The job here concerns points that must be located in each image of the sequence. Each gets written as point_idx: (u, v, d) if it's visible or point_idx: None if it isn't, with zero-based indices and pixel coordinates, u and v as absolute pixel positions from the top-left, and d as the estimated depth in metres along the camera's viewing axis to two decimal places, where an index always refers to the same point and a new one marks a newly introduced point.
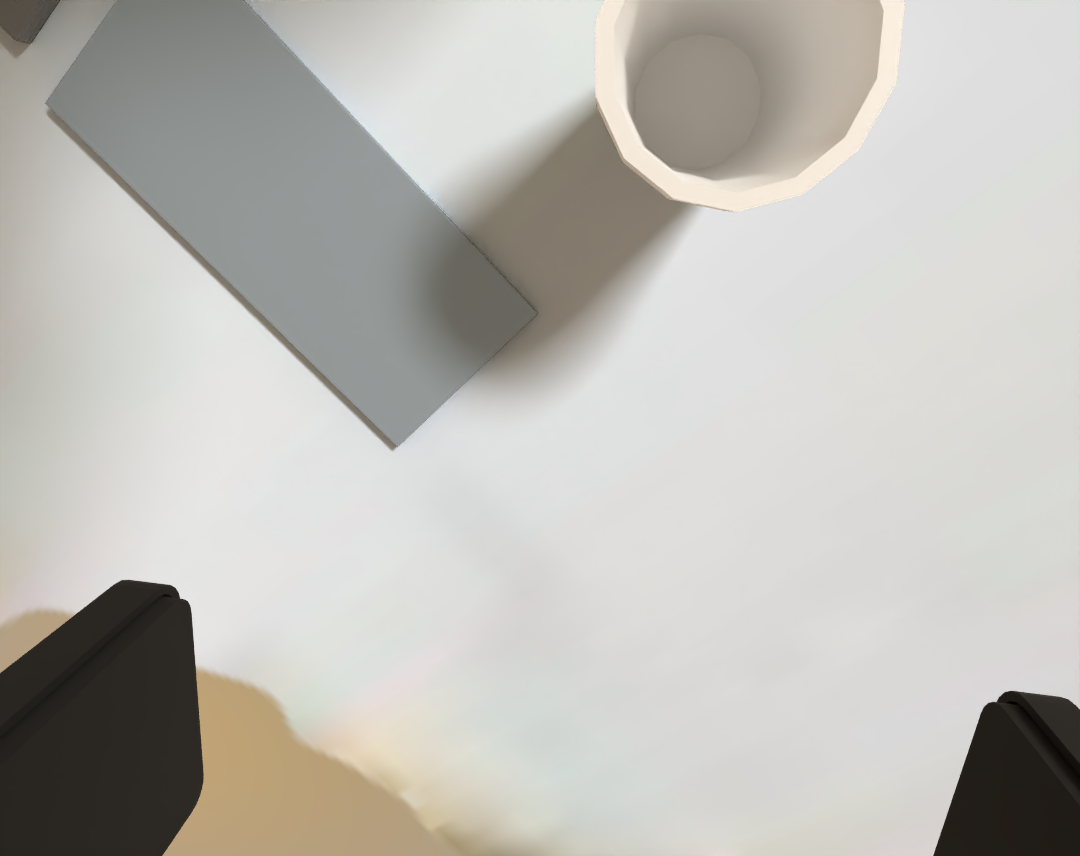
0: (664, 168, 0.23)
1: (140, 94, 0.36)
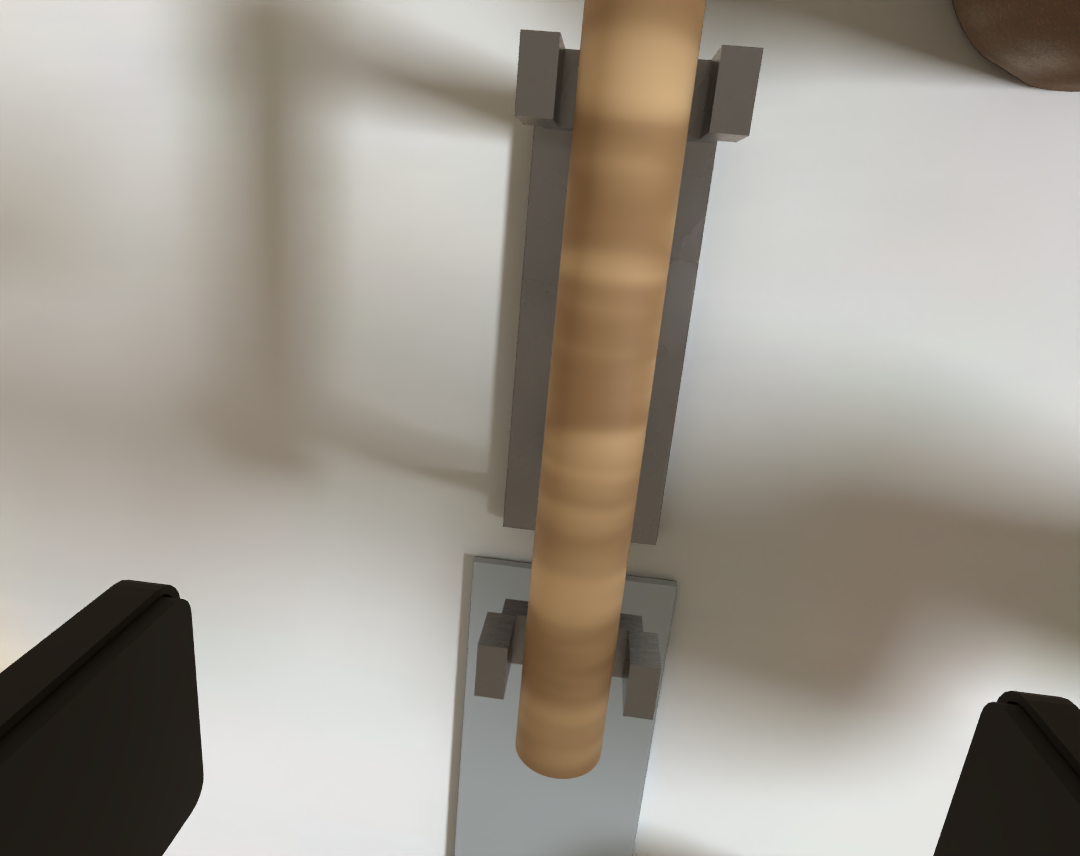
0: None
1: None
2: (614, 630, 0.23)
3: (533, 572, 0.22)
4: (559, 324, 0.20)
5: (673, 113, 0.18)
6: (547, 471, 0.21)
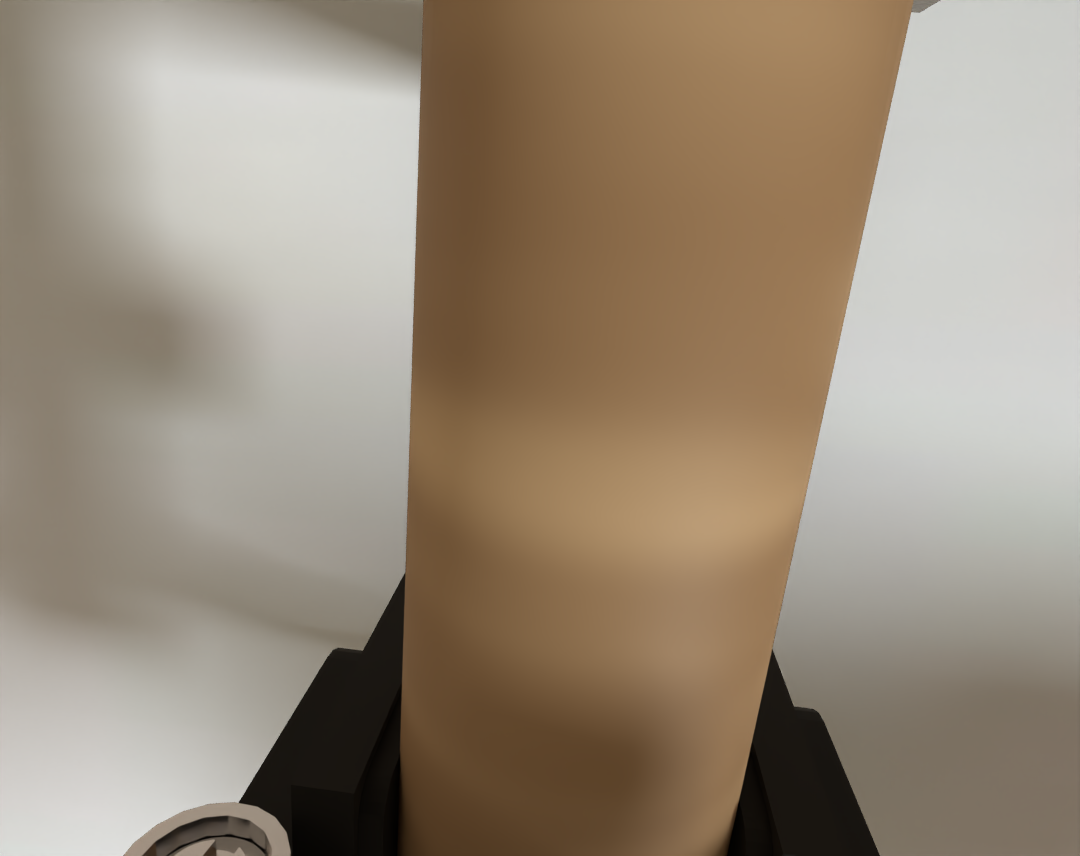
0: None
1: None
2: None
3: None
4: (409, 643, 0.05)
5: None
6: None
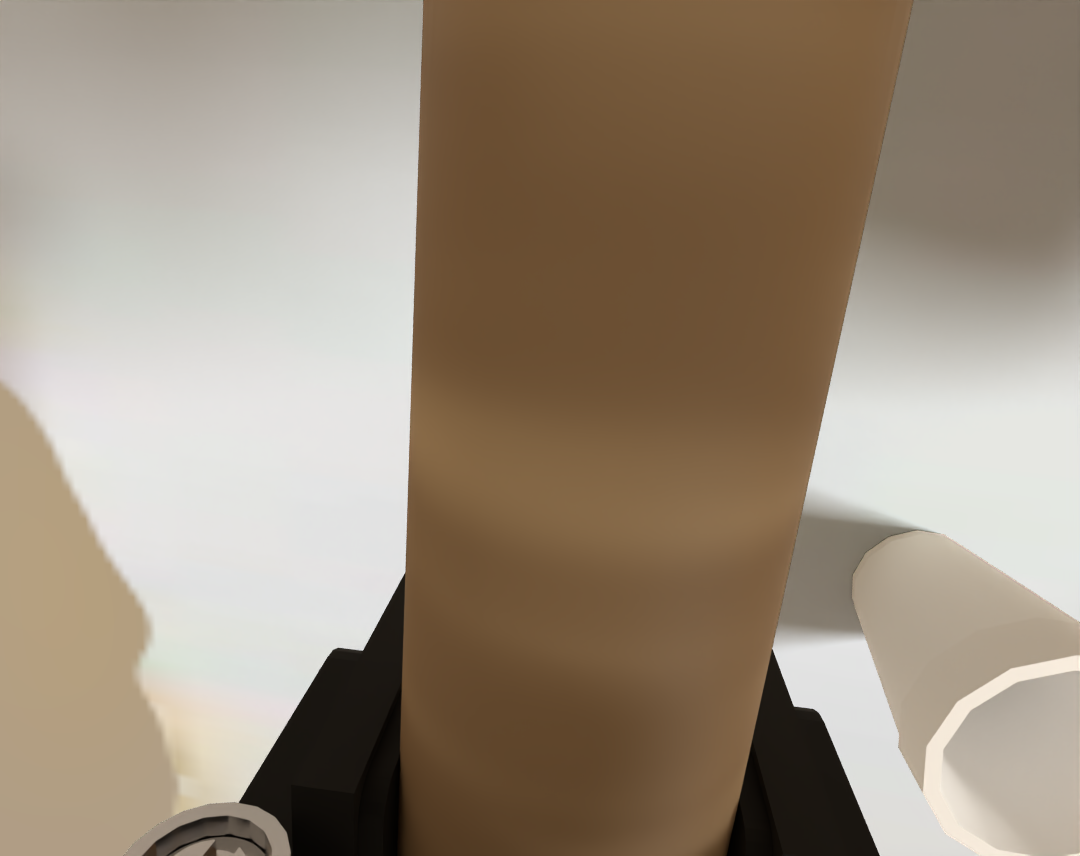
0: (939, 773, 0.26)
1: None
2: None
3: None
4: (410, 640, 0.05)
5: None
6: None
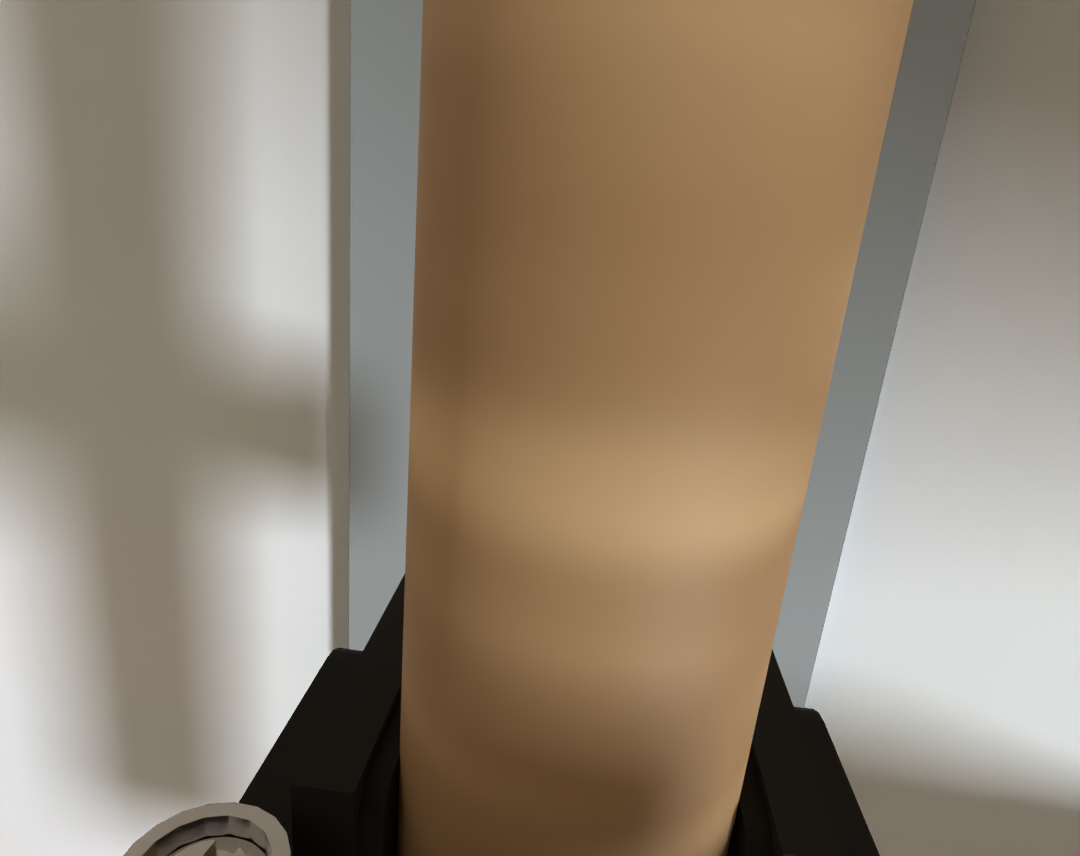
0: None
1: None
2: None
3: None
4: (409, 644, 0.05)
5: None
6: None
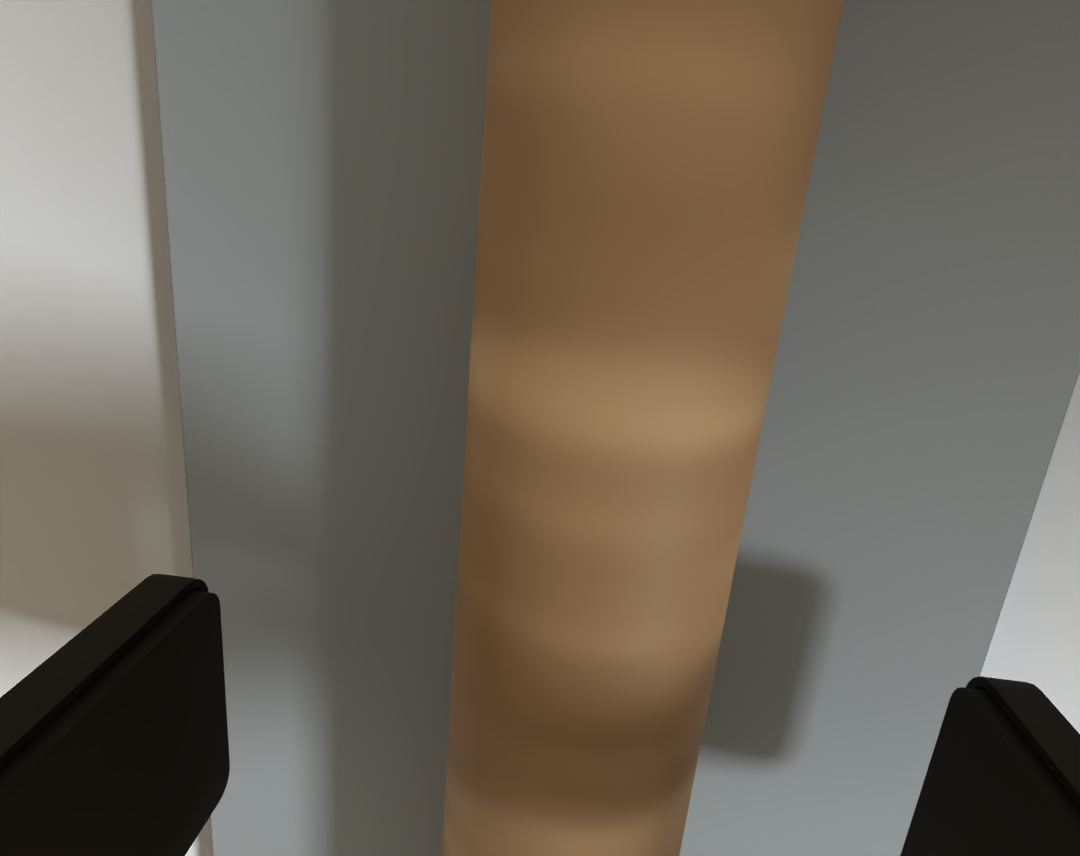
0: None
1: None
2: None
3: None
4: (468, 532, 0.07)
5: None
6: None
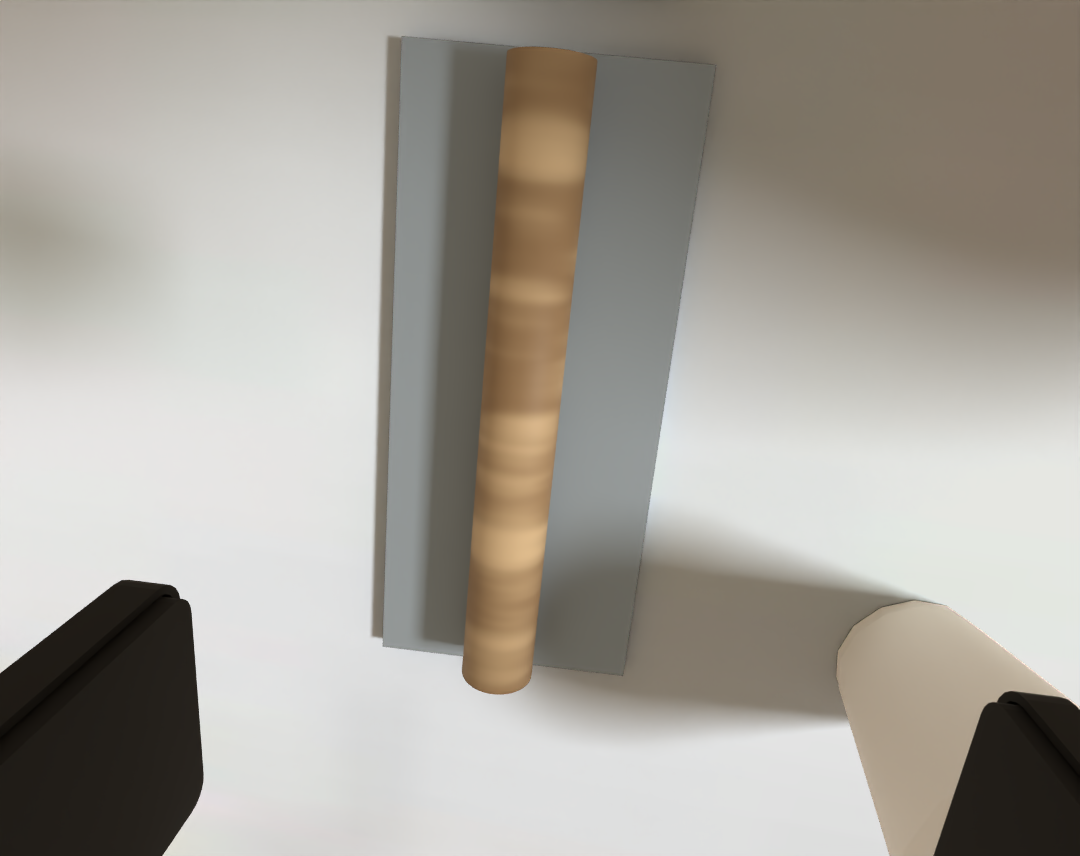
0: None
1: None
2: (535, 575, 0.28)
3: (472, 526, 0.28)
4: (488, 331, 0.26)
5: (565, 176, 0.24)
6: (481, 445, 0.27)
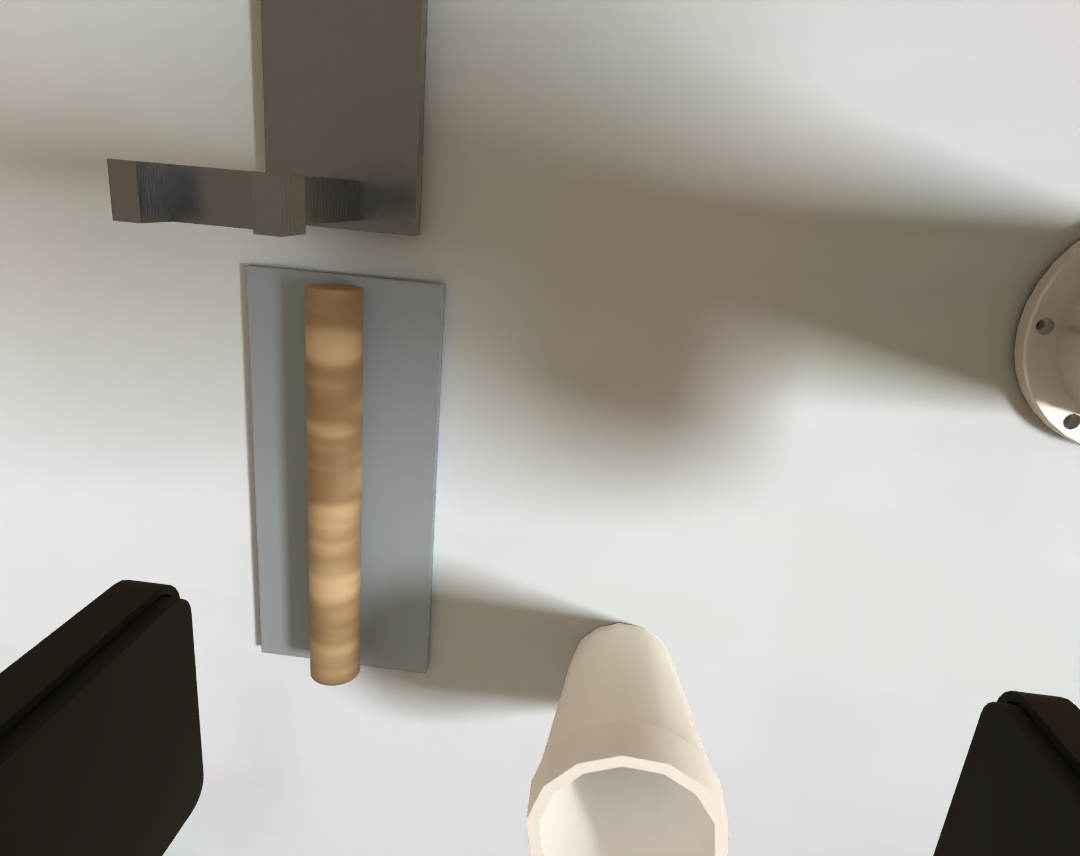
0: (540, 839, 0.34)
1: None
2: (352, 605, 0.43)
3: (309, 574, 0.43)
4: (307, 452, 0.40)
5: (344, 362, 0.38)
6: (308, 523, 0.41)
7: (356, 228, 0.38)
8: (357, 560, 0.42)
